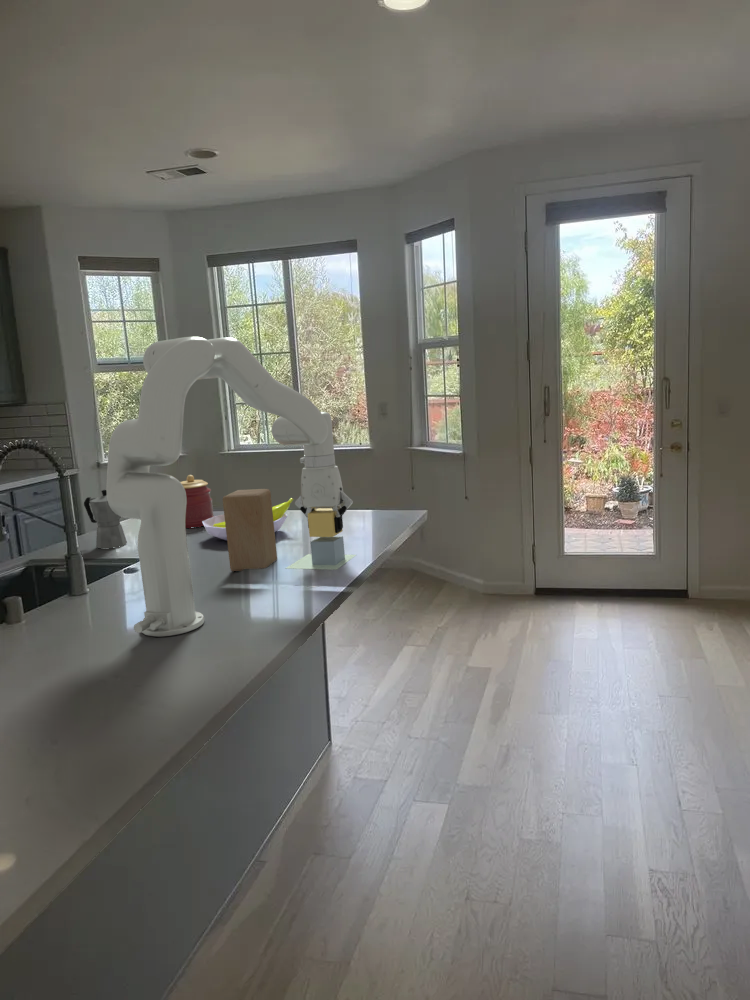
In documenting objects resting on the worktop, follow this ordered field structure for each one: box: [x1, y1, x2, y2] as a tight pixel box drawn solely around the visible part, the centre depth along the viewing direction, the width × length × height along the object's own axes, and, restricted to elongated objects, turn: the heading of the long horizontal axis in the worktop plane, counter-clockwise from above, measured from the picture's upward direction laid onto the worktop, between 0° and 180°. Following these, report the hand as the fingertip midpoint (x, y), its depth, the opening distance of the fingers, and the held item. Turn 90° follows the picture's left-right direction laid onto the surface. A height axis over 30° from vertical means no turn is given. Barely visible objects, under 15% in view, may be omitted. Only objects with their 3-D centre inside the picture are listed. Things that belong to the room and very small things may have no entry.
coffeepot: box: [83, 489, 128, 549], centre depth 231 cm, size 15×9×18 cm, turn 67°
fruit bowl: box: [202, 497, 295, 541], centre depth 230 cm, size 28×27×11 cm
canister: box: [180, 474, 215, 529], centre depth 254 cm, size 13×13×18 cm
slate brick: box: [309, 535, 346, 565], centre depth 188 cm, size 6×6×6 cm
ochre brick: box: [307, 507, 343, 538], centre depth 187 cm, size 6×6×6 cm
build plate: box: [284, 553, 357, 571], centre depth 189 cm, size 14×14×1 cm
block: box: [222, 488, 278, 572], centre depth 191 cm, size 10×10×20 cm
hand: (325, 531), depth 187 cm, fingers closed on ochre brick, 6 cm apart
